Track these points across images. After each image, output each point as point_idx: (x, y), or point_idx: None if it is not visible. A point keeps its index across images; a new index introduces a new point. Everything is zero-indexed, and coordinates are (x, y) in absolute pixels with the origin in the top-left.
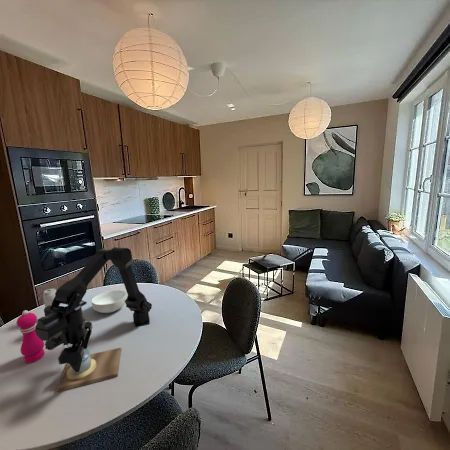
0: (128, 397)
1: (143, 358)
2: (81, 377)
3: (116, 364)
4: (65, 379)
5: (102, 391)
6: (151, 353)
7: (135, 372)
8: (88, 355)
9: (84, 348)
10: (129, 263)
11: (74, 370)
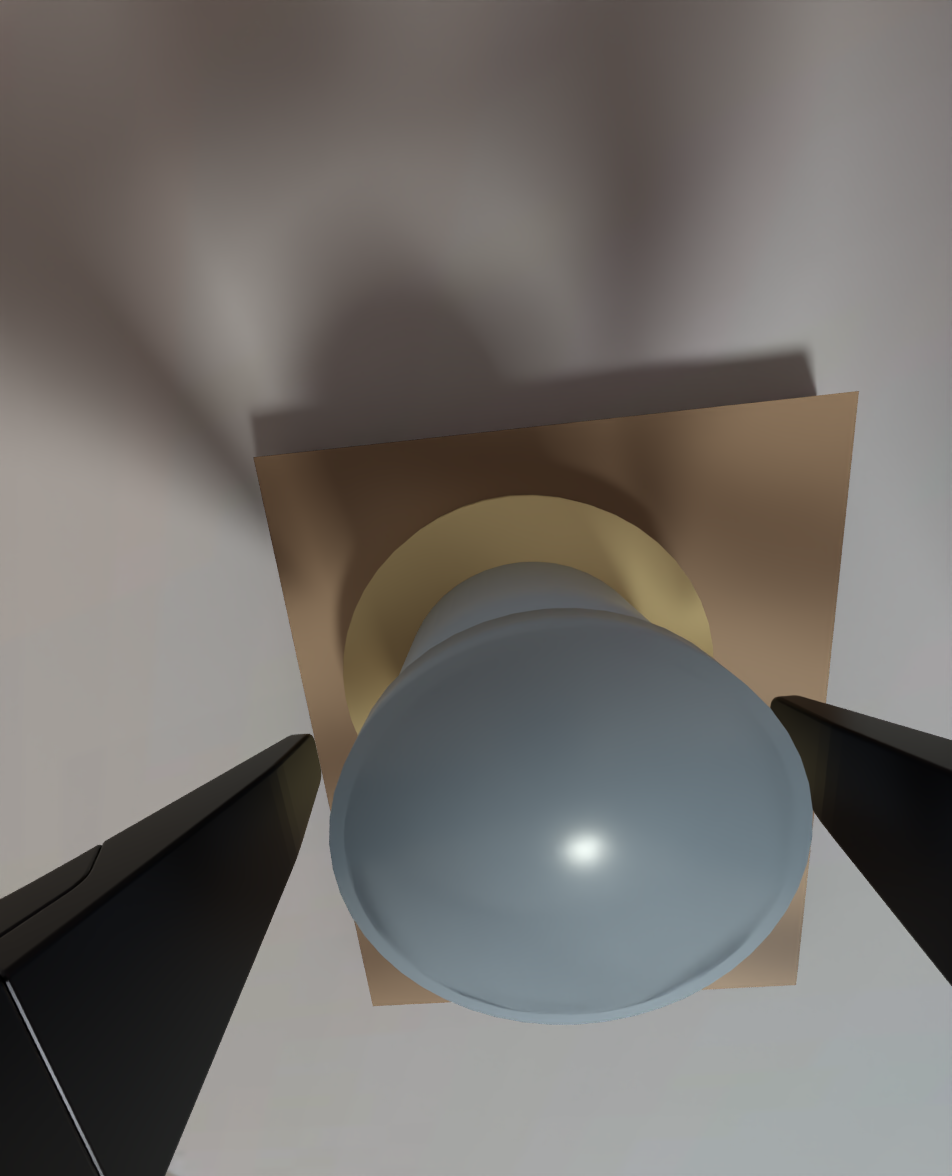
0: None
1: (556, 1114)
2: (359, 717)
3: None
4: (400, 507)
5: None
6: (601, 1159)
7: (396, 1075)
8: (501, 1005)
9: (858, 821)
10: None
11: (244, 765)
